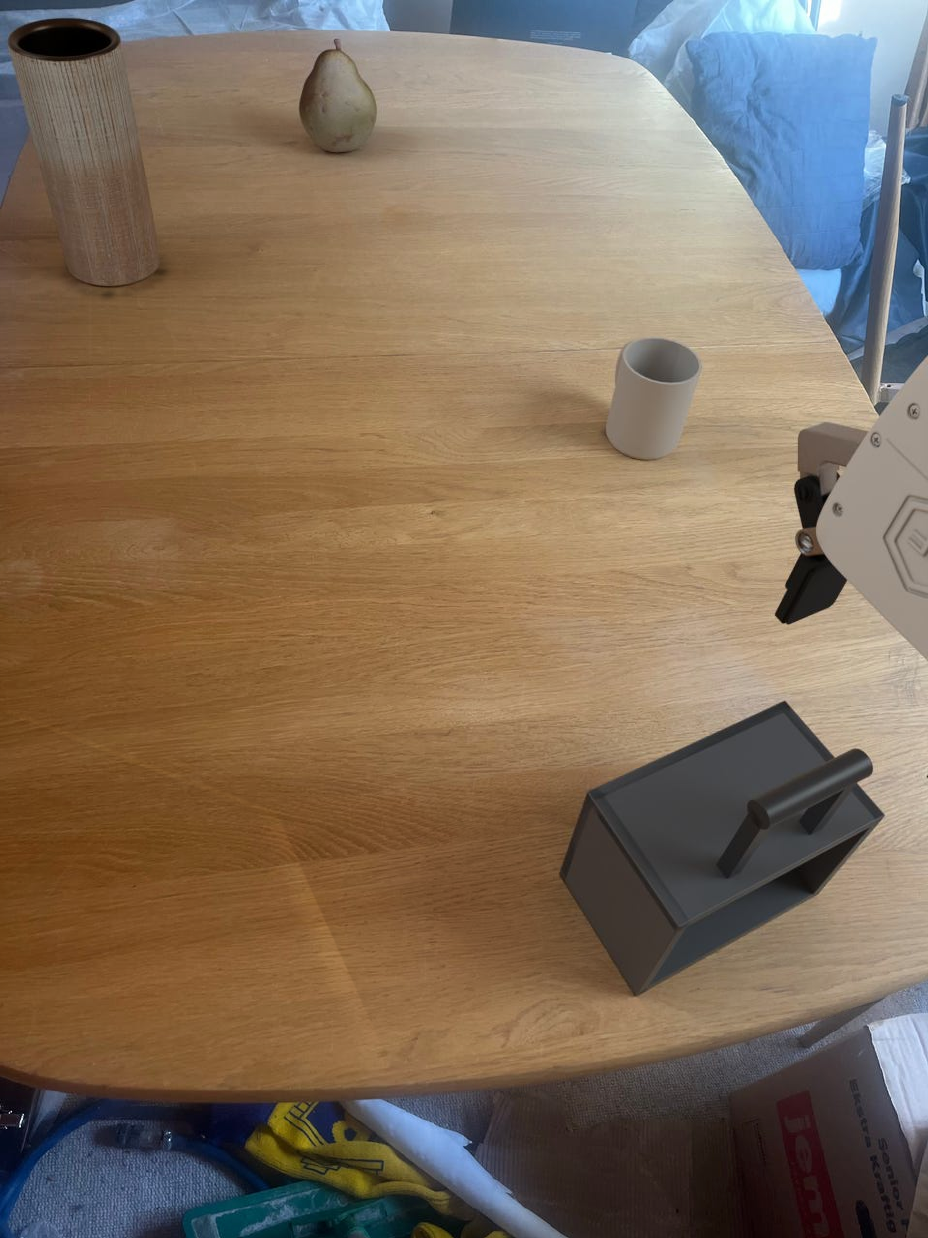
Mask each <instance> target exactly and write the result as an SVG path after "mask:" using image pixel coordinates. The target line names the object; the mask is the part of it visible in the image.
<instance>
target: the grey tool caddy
mask: <svg viewBox="0 0 928 1238" xmlns="http://www.w3.org/2000/svg"><path fill="white" fill-rule="evenodd" d="M873 772H874V766H873V762H872V760H871V758H870V757H869V755H868V754H867V753H866V752H865V751H864V750H862V749H861V748H856V747H855V748H854V747H853V748H850V749H849V750H847V751H845V752H844V753H842V754H839V755H837V756H836V757H835V756H834V754H832V752H831V751H830V750H829V749H828V748H827V746H826V745H825V744H824V743H823V742H822V741H821V740H820V739H819V737H818V736H817V735H816V734H815V733H814V732H813V730H812V729H811V728H810V727H809V726H808V725H807V724H806V723H805V721H804V720H803V719H802V718H801V717H800V716H799V715H798V713H797V712H796V710H794V709H793V708H792V706H791V705H790V704H789V703H788V701H787V700H782V701H780V702H778V703H776V704H774V705H772V706H769V707H767V708H765V709H764V710H763V709H762V710H761V711H759V712H757V713H754V714H753V715H750V716H748V717H745V718H744V719H741V720H739V721H737V722H734V723H733V724H730V725H728V726H726V727H724V728H722V729H720V730H717V731H716V732H713V733H711V734H709V735H706V736H704V737H702V738H701V739H698V740H696V741H694V742H692V743H689V744H687V745H685V746H683V747H681V748H678V749H677V750H674V751H673V752H670V753H668V754H666V755H663V756H661V757H659V758H657V759H655V760H653V761H651V762H648V763H646V764H644V765H641V766H640V767H638V768H635V769H633V770H631V771H629V772H626V773H624V774H622V775H620V776H618V777H616V778H614V779H611V780H609V781H607V782H605V783H602V784H600V785H599V786H596V787H593V788H592V789H590V790H587V791H586V794H585V797H584V799H583V803H582V805H581V808H580V812H579V814H578V816H577V821H576V823H575V826H574V829H573V832H572V835H571V838H570V841H569V843H568V847H567V849H566V852H565V855H564V857H563V861H562V864H561V866H560V870H559V872H558V875H559V877H560V878H561V880H562V882H563V884H564V885H565V887H566V888H567V889H568V891H569V893H570V895H571V896H572V898H573V899H574V901H575V902H576V904H577V906H578V907H579V909H580V911H581V912H582V914H583V915H584V917H585V919H586V920H587V922H588V923H589V925H590V927H591V928H592V930H593V931H594V933H595V935H596V937H597V938H598V939H599V941H600V943H601V945H602V946H603V948H604V949H605V951H606V952H607V954H608V956H609V958H610V959H611V961H612V962H613V964H614V965H615V967H616V969H617V970H618V972H619V973H620V975H621V976H622V978H623V980H624V981H625V983H626V984H627V986H628V988H629V990H630V991H631V993H632V994H633V996H634V997H635V998H637V997H639V996H640V995H642V994H644V993H646V992H647V991H649V990H651V989H653V988H655V987H656V986H658V985H660V984H662V983H664V982H665V981H667V980H669V979H671V978H672V977H674V976H676V975H678V974H680V973H681V972H683V971H685V970H686V969H688V968H690V967H691V966H694V965H696V964H697V963H699V962H701V961H702V960H704V959H706V958H708V957H710V956H712V955H713V954H715V953H717V952H718V951H721V950H722V949H724V948H726V947H727V946H729V945H731V944H733V943H734V942H736V941H738V940H740V939H741V938H743V937H745V936H747V935H749V934H750V933H752V932H754V931H755V930H757V929H759V928H761V927H763V926H764V925H767V924H769V923H770V922H772V921H774V920H775V919H777V918H779V917H780V916H782V915H784V914H786V913H788V912H789V911H791V910H793V909H795V908H796V907H798V906H800V905H802V904H804V903H805V902H807V901H809V900H811V899H813V898H814V897H816V896H818V895H819V894H820V893H821V892H822V890H823V889H824V888H825V887H826V886H827V884H828V883H829V882H830V881H831V880H832V879H833V878H834V876H836V874H837V873H838V872H839V871H840V869H841V868H842V867H843V866H844V865H845V863H846V862H847V861H848V860H849V859H850V857H851V856H852V855H853V854H854V853H855V852H856V851H857V849H858V848H859V847H860V846H861V845H862V844H863V842H864V841H865V840H866V839H867V838H868V837H869V835H870V834H871V833H872V832H873V831H874V830H875V829H876V827H877V826H878V825H879V824H880V823H881V821H882V820H883V819H884V818H885V817H886V814H885V813H884V812H883V810H881V808H880V807H879V806H878V805H877V804H876V803H875V801H873V799H872V798H871V797H870V796H869V794H868V793H867V792H866V791H865V790H864V789H863V788H862V787H861V786H860V785H859V782H862V781H863V780H865V779H867V778H869V777H871V776H872V774H873Z"/></svg>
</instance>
